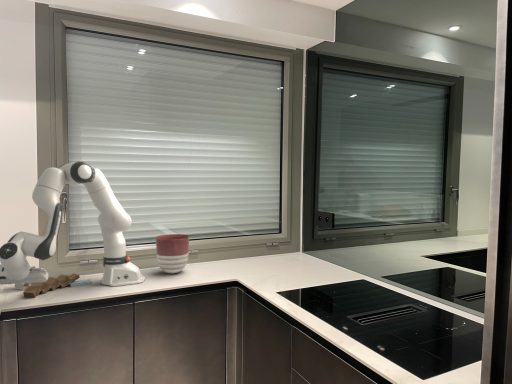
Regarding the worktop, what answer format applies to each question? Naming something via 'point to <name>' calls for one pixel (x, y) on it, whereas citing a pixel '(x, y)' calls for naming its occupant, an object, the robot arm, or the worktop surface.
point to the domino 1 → (33, 289)
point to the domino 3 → (60, 281)
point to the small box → (20, 287)
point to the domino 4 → (70, 280)
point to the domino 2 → (49, 284)
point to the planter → (172, 252)
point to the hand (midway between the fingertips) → (27, 285)
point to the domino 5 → (81, 282)
